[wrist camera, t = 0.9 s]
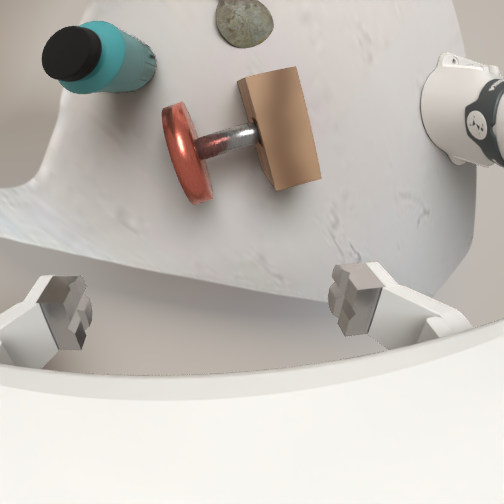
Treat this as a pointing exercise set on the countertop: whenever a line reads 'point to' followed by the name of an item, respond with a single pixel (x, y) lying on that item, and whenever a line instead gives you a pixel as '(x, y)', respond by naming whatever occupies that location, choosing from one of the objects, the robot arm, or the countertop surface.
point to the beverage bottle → (98, 59)
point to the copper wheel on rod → (200, 149)
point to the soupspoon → (244, 22)
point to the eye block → (281, 127)
